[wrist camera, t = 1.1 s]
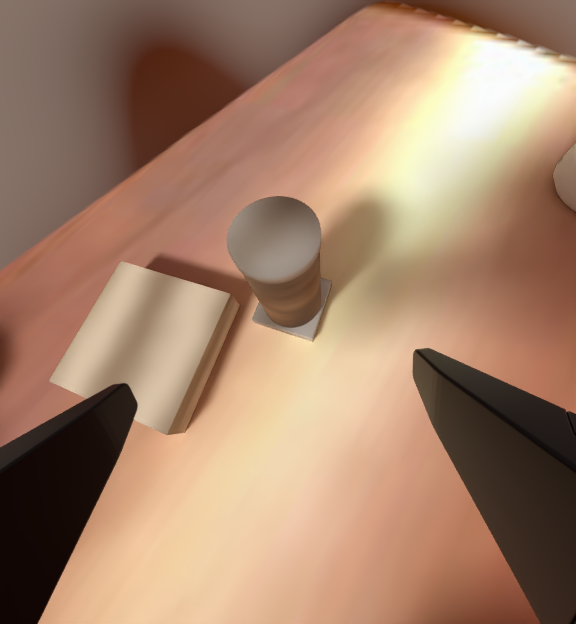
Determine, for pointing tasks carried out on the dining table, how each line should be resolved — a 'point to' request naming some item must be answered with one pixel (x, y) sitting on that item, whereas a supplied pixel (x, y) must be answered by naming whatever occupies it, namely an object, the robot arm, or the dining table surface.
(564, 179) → the supplement can
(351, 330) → the dining table surface
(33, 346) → the dining table surface
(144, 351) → the birch block
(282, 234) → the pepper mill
